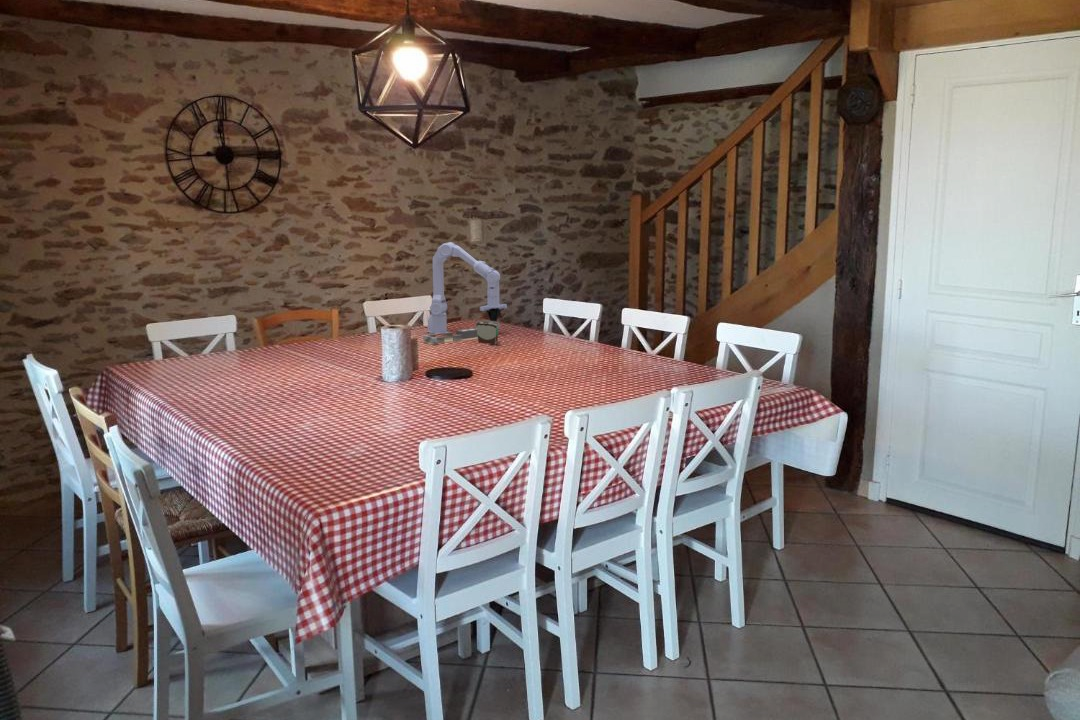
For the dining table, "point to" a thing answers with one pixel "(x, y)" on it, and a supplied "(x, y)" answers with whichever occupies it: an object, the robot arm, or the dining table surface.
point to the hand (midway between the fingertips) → (493, 324)
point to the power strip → (468, 333)
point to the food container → (488, 332)
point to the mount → (443, 338)
